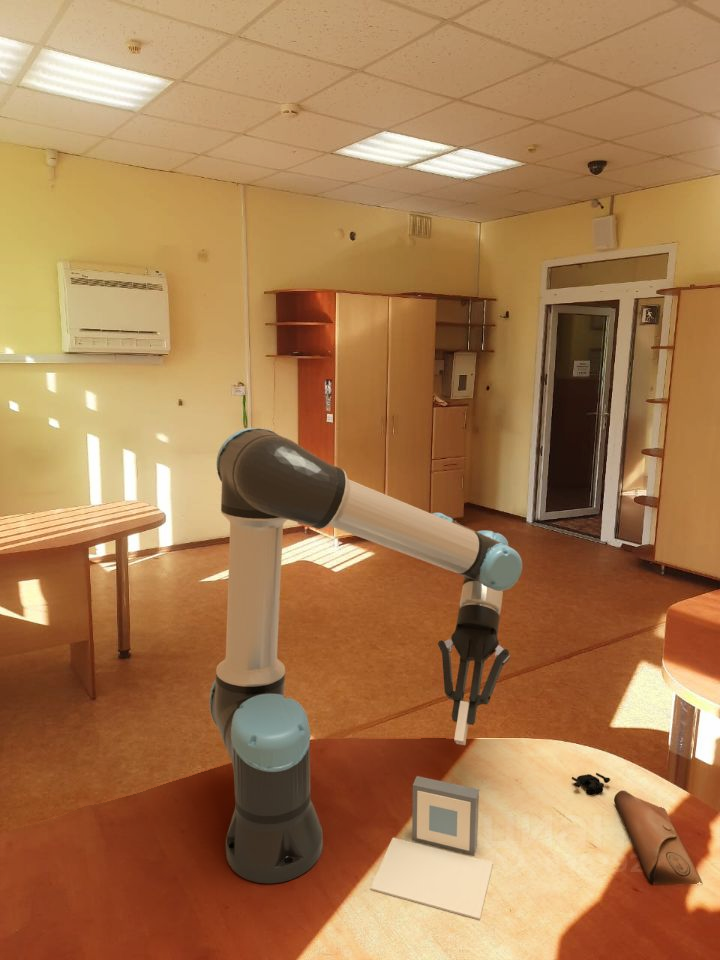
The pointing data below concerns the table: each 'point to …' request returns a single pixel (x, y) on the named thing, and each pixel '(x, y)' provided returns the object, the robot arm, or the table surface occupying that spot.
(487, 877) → the felt mat
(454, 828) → the slate tile
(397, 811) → the table surface
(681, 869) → the sunglasses case
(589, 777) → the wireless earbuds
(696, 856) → the table surface
